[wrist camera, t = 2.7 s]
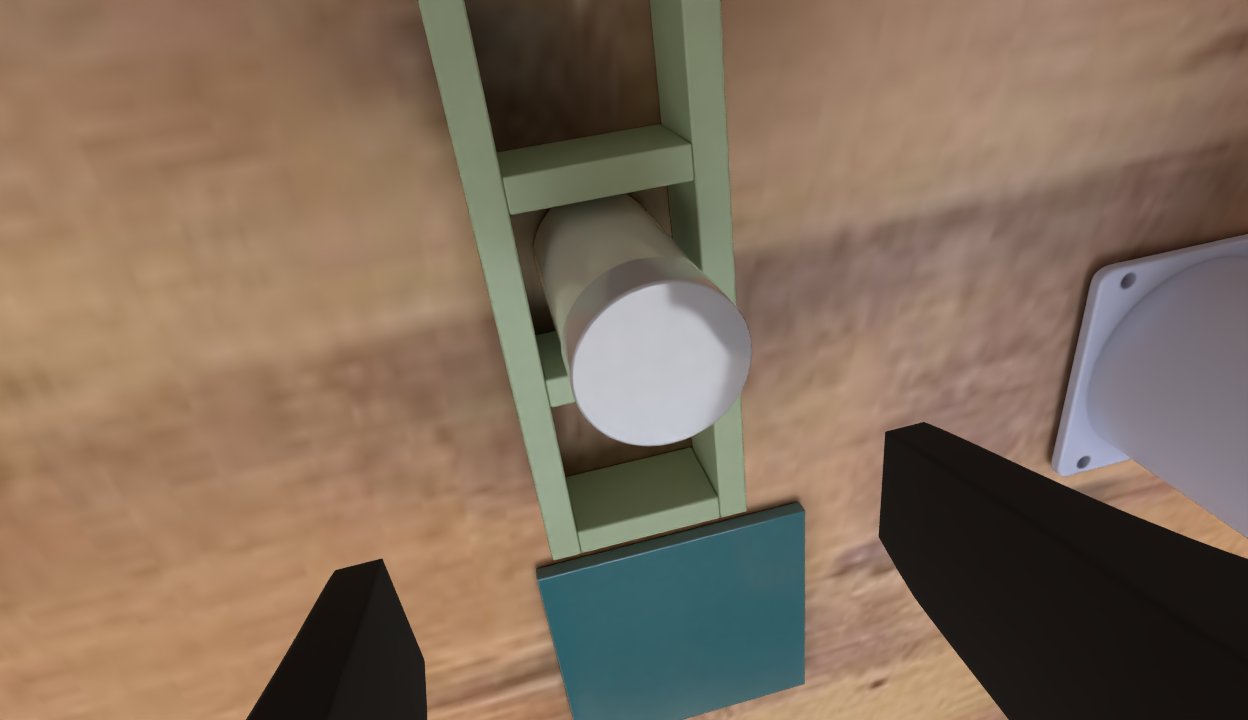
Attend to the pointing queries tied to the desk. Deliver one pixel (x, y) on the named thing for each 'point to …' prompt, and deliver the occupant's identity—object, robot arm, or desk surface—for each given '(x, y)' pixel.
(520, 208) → the spice rack
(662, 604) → the coaster
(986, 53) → the desk surface
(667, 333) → the shaker
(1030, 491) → the robot arm
